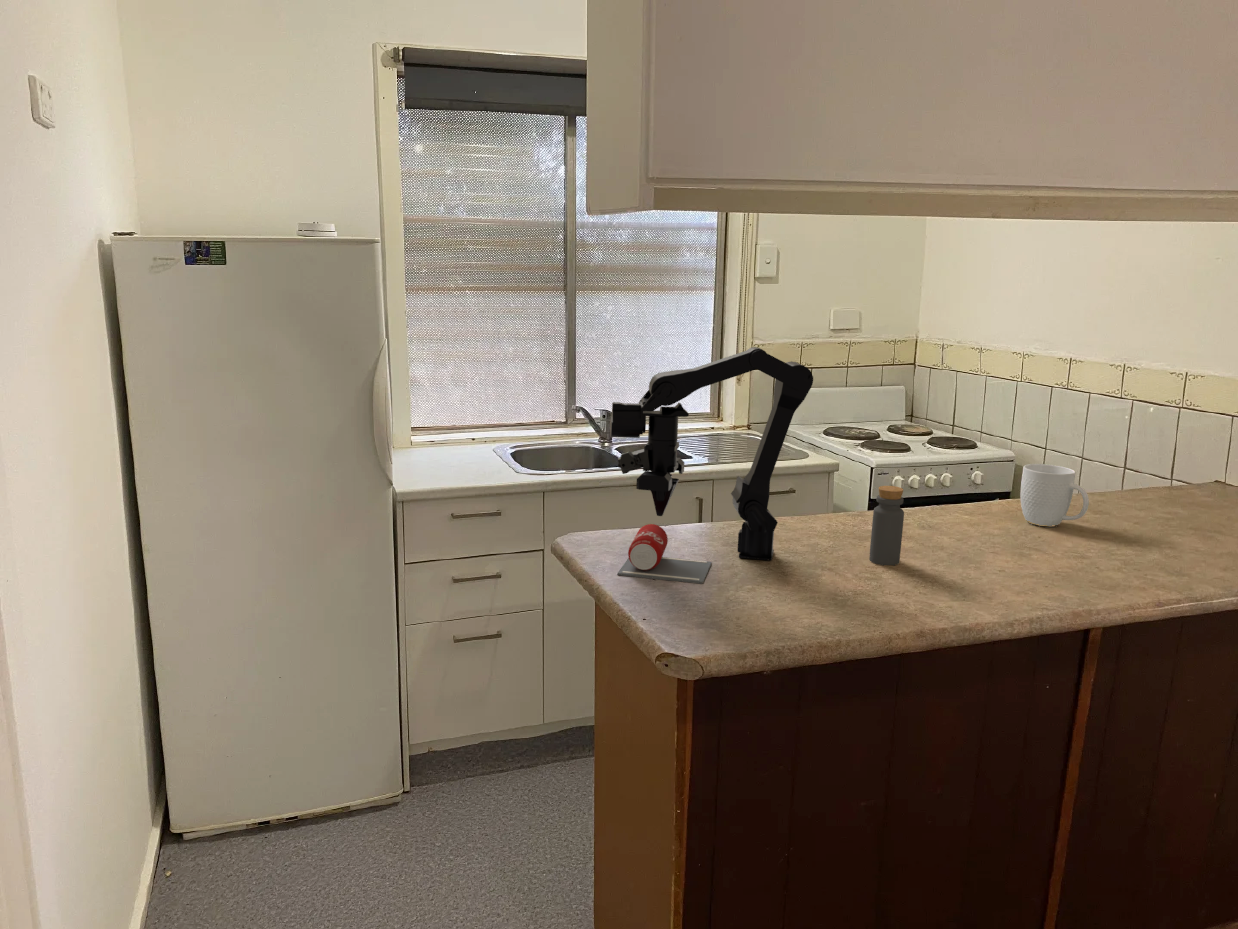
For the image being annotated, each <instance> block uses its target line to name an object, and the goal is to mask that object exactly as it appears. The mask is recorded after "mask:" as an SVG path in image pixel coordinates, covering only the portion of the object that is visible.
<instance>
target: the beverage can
mask: <svg viewBox="0 0 1238 929" xmlns="http://www.w3.org/2000/svg"><path fill="white" fill-rule="evenodd" d="M668 542H669V538H668V534H667V532H666V531H665V530H664V528H663V527H662V526H660V525H657V524H654V523H653V524H652V523H648V524H645V525H643V526H641V527H640V528H639V529H638V531H636V534H635V537H634V538H633V540H632V542H631V543H630V546H629V547H628V552H627V553H628V554H627V555H628V558H629V560H630V562H631V563H632V565H633V566H635V567H636V568H638V569H640V570H651V569H653V568H655V567H656V566H657V565H658V564H659V563H660V561H661V558H662V557H664V556H663V555H664V553H665V552H666V548H667V546H668Z"/></svg>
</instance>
